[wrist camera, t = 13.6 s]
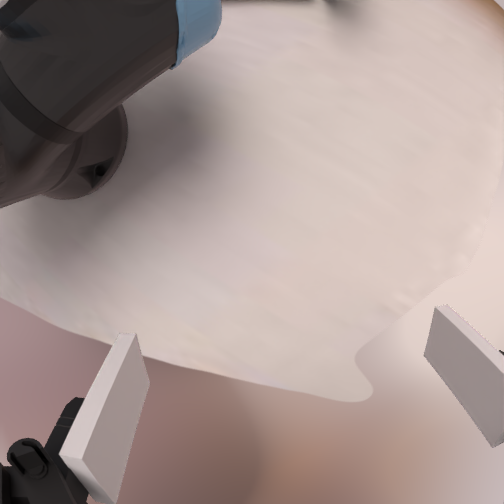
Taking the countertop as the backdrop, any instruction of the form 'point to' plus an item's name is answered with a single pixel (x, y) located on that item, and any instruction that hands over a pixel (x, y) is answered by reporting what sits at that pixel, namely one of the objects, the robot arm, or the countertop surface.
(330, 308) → the countertop surface
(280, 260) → the countertop surface
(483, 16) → the countertop surface
